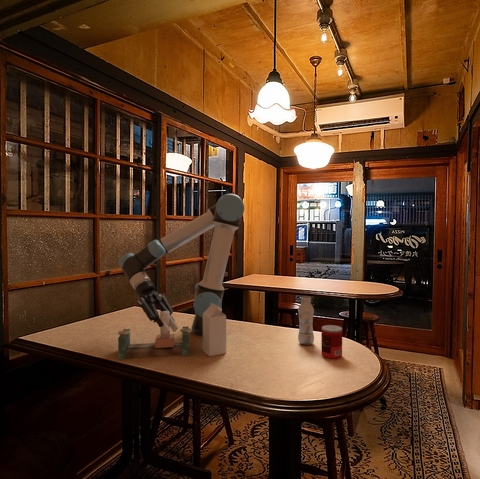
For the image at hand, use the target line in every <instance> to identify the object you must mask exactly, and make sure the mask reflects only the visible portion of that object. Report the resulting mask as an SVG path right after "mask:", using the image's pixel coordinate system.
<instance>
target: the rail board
mask: <svg viewBox="0 0 480 479" xmlns="http://www.w3.org/2000/svg"><path fill="white" fill-rule="evenodd" d="M179 332H180V333H181V334H182V340H181V341H174V347H164V348H155V342H151V343H150V342H149V343H147V342H146V343H131V328H123V329H122V330H120V331H118V332H117V334H118V335H119V336H118V338H117V339H118V340H117V346H118V347H117V349H118V351H117V354H118V355H117V356H118V357H117V359H118V360H126V359H130V358H131V359H134V358H135V359H136V358H152V357H154V358H155V357H171V356H172V357H173V356H182V357H187V356H189V354H190V351H189V350H190V346H189V344H190V342H189V339H190V338H189V335H190V332H191V328H189V326H182V328H180V329H179Z"/></svg>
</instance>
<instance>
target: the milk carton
mask: <svg viewBox="0 0 480 479" xmlns="http://www.w3.org/2000/svg"><path fill="white" fill-rule="evenodd" d="M222 311H223V309H222V307H221V308H220V307H218V306H216V305H214V304H212V303H211V306H210V307H209V308H208V309H207V310H206V311H205V312H204V313H203V336H202V352H203V353H205V354H206V355H207V356H208V357H213V356H219V355H224V354H227V315H226V314H225V313H223V312H222Z"/></svg>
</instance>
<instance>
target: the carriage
mask: <svg viewBox="0 0 480 479" xmlns="http://www.w3.org/2000/svg"><path fill="white" fill-rule="evenodd" d="M159 314H160V315H159V316H160V317H162V318H163V319H164V321H165V323H166V324H167V326H168V327H169V329H170V331H171V327H170V312H169V311H160V313H159ZM160 317H159V318H160ZM159 328H160V331H159V332H160V334H156V336H155V340H154V341H155V342H154V343H155V348H164V347H174V342H175V333H171V332H170V331H169V333H168V334H167V335H165V333H164V332H163V330H162V329H161V327H159Z"/></svg>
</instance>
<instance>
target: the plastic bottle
mask: <svg viewBox="0 0 480 479" xmlns="http://www.w3.org/2000/svg"><path fill="white" fill-rule="evenodd" d="M311 302H312V299H311V296H308V295H304V296H301V303H300V304H299V306H298V307H297V308H298V309H297V311H298V312H297V313H298V322H299V328H298V329H299V330H298V334H297V339H298V342H299V344H301V345H304V346H305V345H306V346H307V345H308V346H309V345H312V344H314V341H315V335H314V329H313V321H314V314H315V313H314V311H315V308H314V307H313V305H312V303H311Z"/></svg>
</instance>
